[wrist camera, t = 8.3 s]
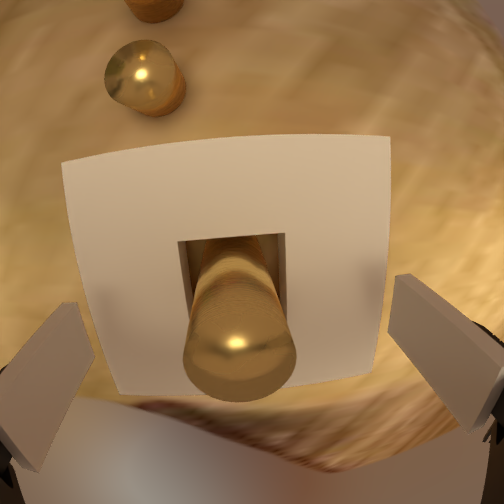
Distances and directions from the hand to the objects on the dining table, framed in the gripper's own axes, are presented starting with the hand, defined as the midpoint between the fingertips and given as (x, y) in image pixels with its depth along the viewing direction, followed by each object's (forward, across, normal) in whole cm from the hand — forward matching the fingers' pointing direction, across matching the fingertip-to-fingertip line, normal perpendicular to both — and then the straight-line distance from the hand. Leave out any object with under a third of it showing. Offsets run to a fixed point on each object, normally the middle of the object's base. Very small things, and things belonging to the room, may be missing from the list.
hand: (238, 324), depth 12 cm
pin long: (+9, 0, 0) cm, 9 cm away
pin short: (+9, -4, +11) cm, 15 cm away
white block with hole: (+9, 0, 0) cm, 9 cm away
